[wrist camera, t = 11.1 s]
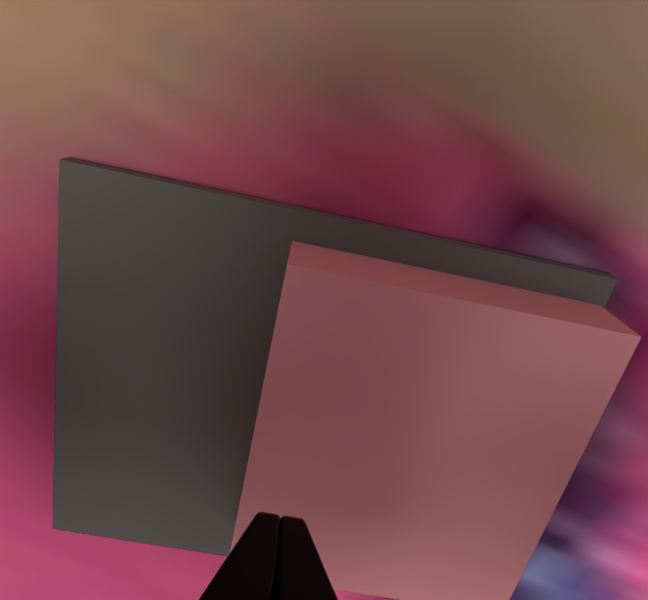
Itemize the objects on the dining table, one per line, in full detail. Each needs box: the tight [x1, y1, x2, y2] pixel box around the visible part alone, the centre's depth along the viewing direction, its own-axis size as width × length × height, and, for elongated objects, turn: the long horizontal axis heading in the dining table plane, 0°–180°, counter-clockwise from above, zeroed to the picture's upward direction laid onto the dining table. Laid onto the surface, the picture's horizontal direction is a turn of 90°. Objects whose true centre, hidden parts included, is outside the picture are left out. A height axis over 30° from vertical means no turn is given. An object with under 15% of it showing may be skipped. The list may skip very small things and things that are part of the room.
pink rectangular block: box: [230, 241, 641, 600], centre depth 12 cm, size 8×2×7 cm
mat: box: [53, 157, 618, 556], centre depth 13 cm, size 10×12×1 cm
